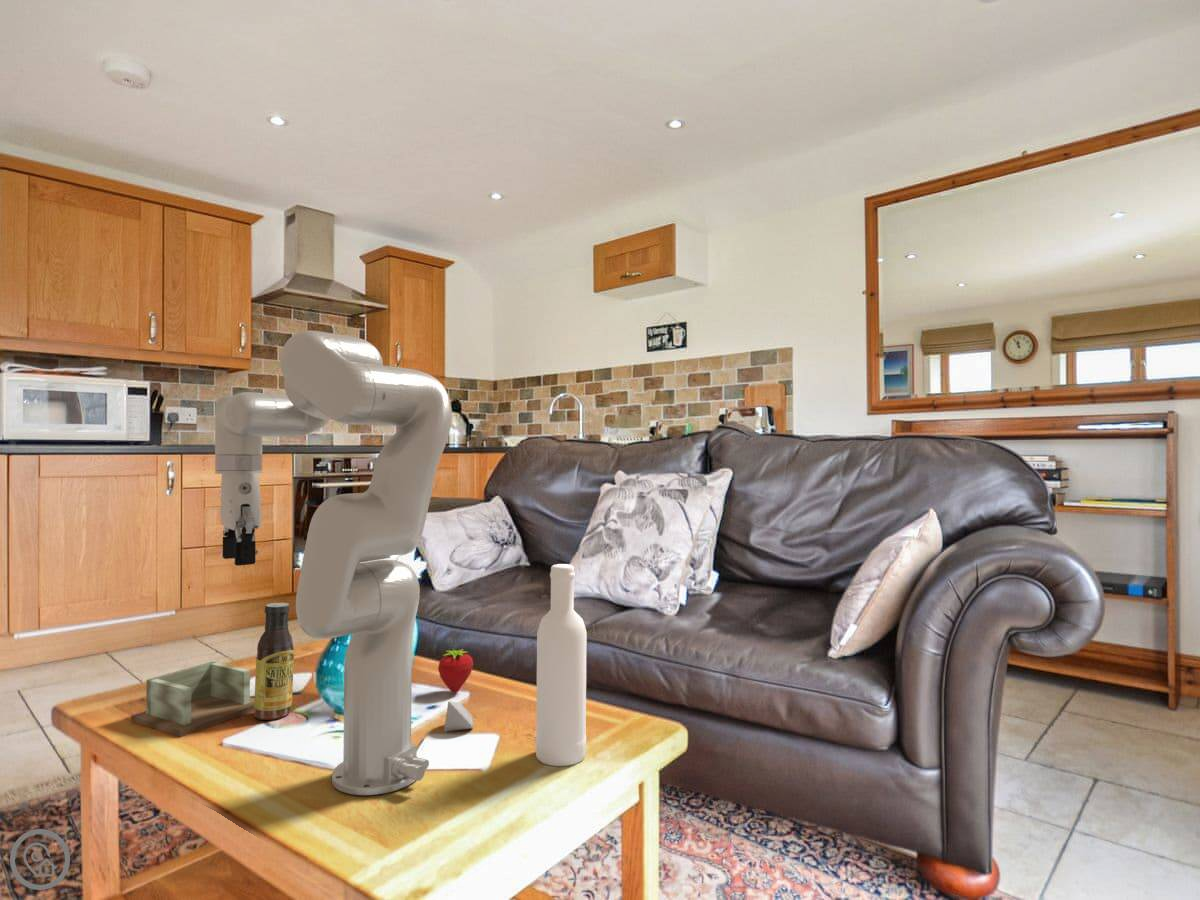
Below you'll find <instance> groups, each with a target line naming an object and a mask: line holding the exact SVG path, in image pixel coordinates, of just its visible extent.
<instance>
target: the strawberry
mask: <svg viewBox="0 0 1200 900" xmlns="http://www.w3.org/2000/svg"><path fill="white" fill-rule="evenodd" d="M454 648H455V647H453V648H452V650H445V652H446V653H444V654H442V656H443V658H442V659H440V661H439V662H438V663H439V664H438V667H437V670H438V673H439V676H440V678H441V681H442V682H443V683H444V685H445V686H446V687H447V688H448V690H449V691H450V692H451V693H453V694H457V693H459V691H460V690H461V688H462V687H463V685H464V684H465V683H466V681H467V679H468V678H469V677H470V676H471V674H472V671H473V668H474V667H473V666H474V659H473V658H472V657H471V655H470V654H468V653H469V651H466V650H465V651H464V648H462V649H459V650H455V649H454Z"/></svg>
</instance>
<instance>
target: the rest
mask: <svg viewBox="0 0 1200 900" xmlns="http://www.w3.org/2000/svg"><path fill="white" fill-rule="evenodd" d="M145 693H146V696H145V697H146V701H145V702H146V703H145V705H146V709H145V710H146V711H142V712H138V713H135V714H133V715H130V716H131V717H130V718H131V722H132V723H135V724H138V725H142V726H144V727H148V728H151V729H155V730H158V731H161V732H163V733H167V734H170V735H174V736H177V737H180V738H181V737H184V736H187V735H189V734H193V733H196V732H198V731H201V730H203V729H207V728H209V727H213V726H214V725H218V724H220V723H221V724H222V723H223V722H226V721H229V720H231V719H235V718H238V717H239V716H243V715H246V714H248V713H252V712H255V708H254V698H255V697H254V698H253V697H251V695H250V693H251V669H247V668H244V667H239V666H234V665H230V664H225V663H221V662H216V661H210V662H206V663H202V664H199V665H196V666H191V667H188V668H185V669H181V670H176V671H172V672H169V673H165V674H163V675H158V676H155V677H152V678H148V679H146V692H145Z"/></svg>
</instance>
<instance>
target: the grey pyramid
mask: <svg viewBox="0 0 1200 900" xmlns="http://www.w3.org/2000/svg"><path fill="white" fill-rule="evenodd" d="M446 707H447V708H446V714H445V722H444V729H443V732H444V733H445V732H454V731H462V730H470V729H474V719H473V715H472V714H471V713H470V712H469V711H468V709H466V708H465V707H464V705H463V704H462V703H461V702H456V701H450V700H449V701H448V702H447V706H446Z"/></svg>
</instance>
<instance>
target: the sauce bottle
mask: <svg viewBox="0 0 1200 900" xmlns="http://www.w3.org/2000/svg"><path fill="white" fill-rule="evenodd" d="M264 613H265V625H264V632H263V633H262V635H261V636H260V637H259V641H258V643H257V648H256V650H257V651H256V653H257V654H256V659H255V681H254V683H255V684H254V708H255V710H254V711H253V712H254V717H255V718H256V719H257V720H262V721H265V720H267V721H269V720H277V719H281V718H284V717H285V716H287V715H289V714H290V713H291V707H292V704H293V686H294V685H293V684H294V664H295V663H294V661H295V648H294V643H293V638H292V634H291V632H290V630H289V613H290V604H289V603H287V602H271V603H267V604H266V605H265V606H264Z"/></svg>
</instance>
